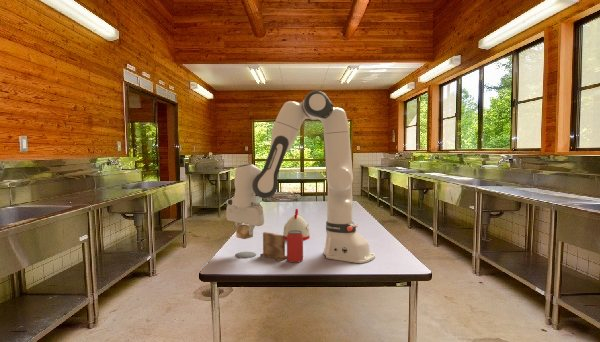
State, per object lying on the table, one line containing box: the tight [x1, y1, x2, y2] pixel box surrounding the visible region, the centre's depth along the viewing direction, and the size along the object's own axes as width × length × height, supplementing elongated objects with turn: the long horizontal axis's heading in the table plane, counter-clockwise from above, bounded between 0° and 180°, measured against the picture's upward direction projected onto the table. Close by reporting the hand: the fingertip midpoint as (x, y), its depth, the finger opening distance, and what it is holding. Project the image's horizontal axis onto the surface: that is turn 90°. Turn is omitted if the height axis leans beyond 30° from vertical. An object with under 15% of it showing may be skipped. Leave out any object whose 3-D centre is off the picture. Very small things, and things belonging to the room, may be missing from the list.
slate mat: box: [234, 251, 257, 259], centre depth 147 cm, size 9×9×1 cm
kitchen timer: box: [283, 208, 311, 241], centre depth 177 cm, size 14×14×15 cm
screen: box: [259, 231, 287, 262], centre depth 143 cm, size 11×5×10 cm, turn 52°
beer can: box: [286, 230, 304, 264], centre depth 139 cm, size 7×7×12 cm
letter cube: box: [235, 223, 254, 240], centre depth 146 cm, size 5×5×5 cm
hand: (244, 233), depth 146 cm, fingers closed on letter cube, 5 cm apart
